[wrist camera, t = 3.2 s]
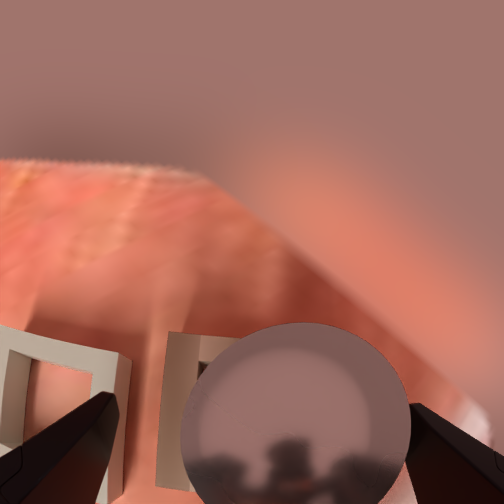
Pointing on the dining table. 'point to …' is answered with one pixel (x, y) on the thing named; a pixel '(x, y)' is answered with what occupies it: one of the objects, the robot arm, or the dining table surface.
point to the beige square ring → (181, 399)
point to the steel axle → (296, 420)
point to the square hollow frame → (72, 357)
